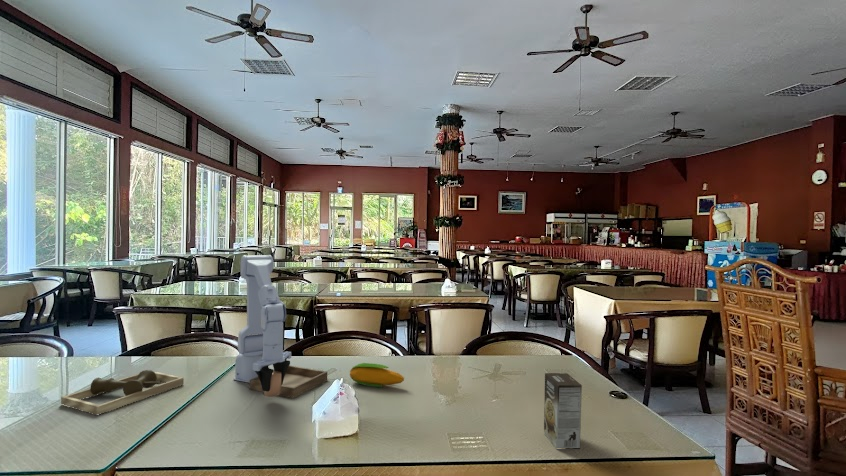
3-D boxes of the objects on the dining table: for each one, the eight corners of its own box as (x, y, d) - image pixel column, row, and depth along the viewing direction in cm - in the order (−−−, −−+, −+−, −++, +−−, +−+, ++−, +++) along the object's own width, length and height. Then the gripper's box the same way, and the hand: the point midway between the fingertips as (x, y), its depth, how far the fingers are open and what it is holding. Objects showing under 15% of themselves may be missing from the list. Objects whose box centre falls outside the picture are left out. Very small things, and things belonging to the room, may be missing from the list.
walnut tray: (249, 389, 146) (249, 379, 146) (286, 373, 162) (286, 364, 162) (293, 397, 139) (293, 388, 139) (327, 380, 155) (327, 371, 155)
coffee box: (542, 433, 117) (543, 372, 117) (566, 432, 118) (567, 372, 118) (555, 450, 108) (557, 384, 108) (581, 449, 109) (582, 384, 108)
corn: (355, 357, 157) (408, 363, 151) (355, 378, 158) (408, 384, 152) (345, 364, 150) (400, 371, 144) (346, 386, 151) (401, 393, 145)
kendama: (104, 389, 143) (168, 386, 145) (84, 401, 134) (154, 398, 136) (103, 371, 143) (168, 368, 145) (83, 382, 133) (153, 379, 135)
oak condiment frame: (61, 405, 130) (61, 396, 130) (149, 377, 155) (149, 370, 155) (97, 415, 124) (97, 406, 124) (183, 384, 148) (183, 377, 148)
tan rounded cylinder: (260, 394, 133) (260, 374, 133) (271, 389, 138) (272, 370, 137) (273, 397, 131) (273, 377, 131) (284, 391, 136) (284, 372, 136)
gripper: (266, 350, 126) (265, 398, 126) (299, 339, 139) (298, 382, 139) (247, 347, 128) (246, 394, 129) (281, 336, 142) (280, 378, 142)
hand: (272, 387), depth 134 cm, fingers closed on tan rounded cylinder, 5 cm apart
